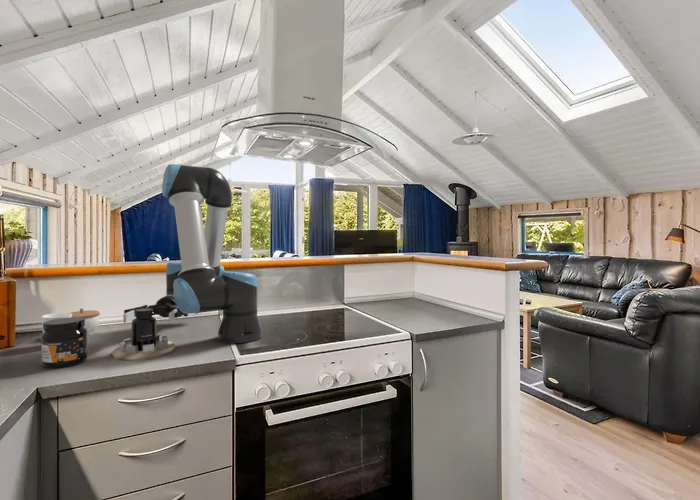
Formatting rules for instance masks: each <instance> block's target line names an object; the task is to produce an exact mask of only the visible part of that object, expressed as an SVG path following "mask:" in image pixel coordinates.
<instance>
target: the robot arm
mask: <svg viewBox="0 0 700 500" xmlns="http://www.w3.org/2000/svg"><path fill="white" fill-rule="evenodd" d="M161 185H162V186H161V193H162V196H163V197H165V198H168V202H169V204H170V205H171V206H172V207H174V214H175V221H176V230H177V238H178V239H177V240H178V247H179V256H180V261H170V262H167V264H166V268H165V279H166V283H165V285H166V291H165V292H166V293H165V294H166V295H165V296H163V297H161V298H159V299H158V300H157V301H156V303H155V304H152V305H148V304H144V305H141V306H137V307H133V308H127V309H124V310H123V314H122V316H123V324H126V323H129V322H130V321H133V320H134V319H135V318H136V317H135V310H138V309H146V308H149V309H153V315H152V316H156V315H157V316H159V317H162V318H168V322H171V323H172V322H173V321H174V320H176V319H177V318H180V317H182V316H184V317H188V315H191V314H193V315H194V314H195V315H198V314H201V313H209V312H218V311H219V312H220V311H222V318H221V322H220V324H219V328H218V332H217V340H218V341H220V342H221V343H228V344H242V343H249V342H250V343H251V342H255V341H257V340H259V339H262V337H263V328H262V325H261V322H260V320H259V317H258V279H257V278H258V277H257V276H256V275H255V274H253V273H248V272H241V271H228V270H225V268H224V266H223V265H222V264H221V256H222V253H223V251H222V250H223V244H224V238H225V231H226V224H227V223H226V222H227V217H228V216H227V215H228V212H229V211H228V210H229V209H230V208H231V207H232V202H233V196H232V195H233V194H232V188H231V187H230V183H229V182H228V180H227V178H226V177H225V176H224V175H223V174H222V173H221V172H220V171H219V170H217V169H215V168H212V167H206V166H205V167H203V166H194V165H185V164H184V165H183V164H180V163H179V164H177V163H176V164H173V163H172V164H171V163H170V164H168V165H167V166H166V167H165V169H164V173H163V177H162V184H161ZM204 201H205V202H204ZM203 203H205V205H207V209H206V216H205V217H206V218H205V223H204V220H203V213H202V206H201V205H202V204H203Z"/></svg>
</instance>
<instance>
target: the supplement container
mask: <svg viewBox="0 0 700 500" xmlns="http://www.w3.org/2000/svg"><path fill="white" fill-rule="evenodd" d="M84 326H85V319H84V318H81V317H69V318H59V319H53V320H49V321H46V322H44V323H43V330H42V333H41V335H40V342H41V365H42V366H43V367H45V368H49V369H61V367H62V368H68V367H72V366H75V365H78V364H82V363H83V362H84V361H86V360H87V358H88V357H89V355H88V354H89V353H88V335H87V329H86V328H85V327H84ZM43 331H44V332H43Z"/></svg>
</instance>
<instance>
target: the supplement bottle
mask: <svg viewBox="0 0 700 500" xmlns="http://www.w3.org/2000/svg"><path fill="white" fill-rule="evenodd" d="M153 313H154V312H153V309H149V308H146V309H138V310H135V318H134V319H132V320H131V329H130V330H131V338H132V345H138V351H142V345H145V344H151V343H154V348H155V347H156V335H157V319H156V318H155V317H154V315H153Z"/></svg>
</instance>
